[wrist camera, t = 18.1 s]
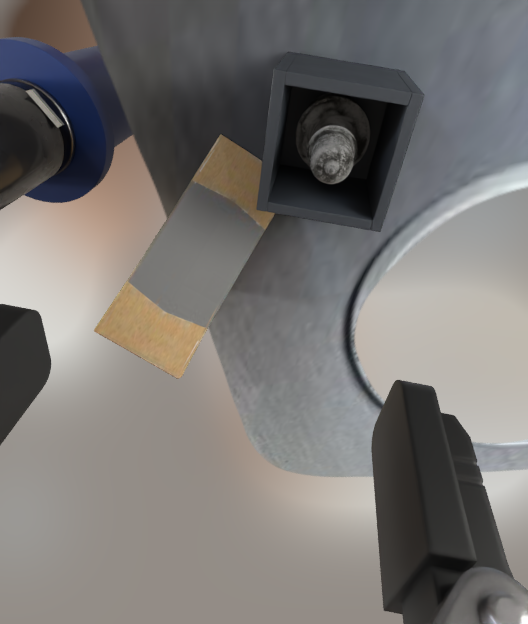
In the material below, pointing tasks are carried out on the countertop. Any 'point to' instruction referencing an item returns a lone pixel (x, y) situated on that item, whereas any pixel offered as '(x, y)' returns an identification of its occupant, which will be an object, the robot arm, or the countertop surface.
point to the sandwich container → (191, 262)
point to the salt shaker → (332, 136)
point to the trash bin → (367, 172)
